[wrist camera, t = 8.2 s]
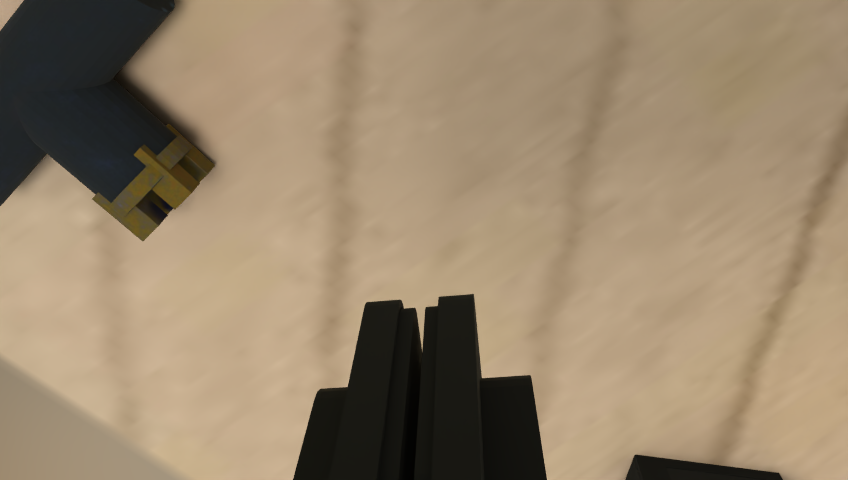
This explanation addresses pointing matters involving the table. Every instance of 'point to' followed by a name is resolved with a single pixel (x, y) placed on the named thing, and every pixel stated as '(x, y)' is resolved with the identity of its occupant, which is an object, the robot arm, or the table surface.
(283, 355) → the table surface
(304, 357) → the table surface
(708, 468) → the digital camera
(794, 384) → the table surface
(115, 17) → the pipe connector
